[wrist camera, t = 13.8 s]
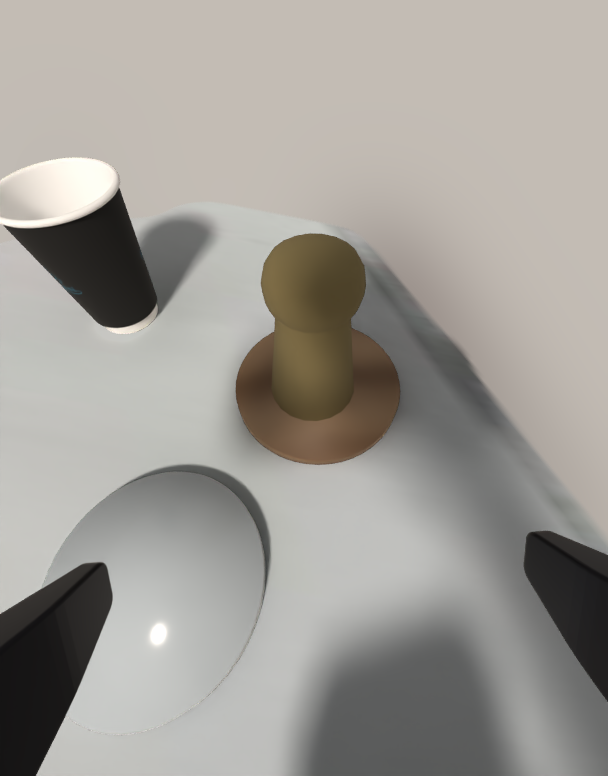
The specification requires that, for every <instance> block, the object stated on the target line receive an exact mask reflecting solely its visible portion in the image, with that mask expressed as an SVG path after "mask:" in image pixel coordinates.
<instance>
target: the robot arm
mask: <svg viewBox="0 0 608 776" xmlns="http://www.w3.org/2000/svg"><path fill="white" fill-rule="evenodd" d="M524 570H525V573H526V576H527V578H528V580H529V581H530V583H531V585H532V586H533V588H534V590H535V591H536V593H537V595H538V596H539V598H540V599H541V601H542V603H543V604H544V606H545V608H546V609H547V611H548V613H549V614H550V616H551V618H552V619H553V621H554V623H555V624H556V626H557V628H558V629H559V631H560V633H561V634H562V636H563V637H564V639H565V641H566V642H567V644H568V645H569V647H570V649H571V650H572V652H573V653H574V655H575V656H576V658H577V659H578V661H579V662H580V664H581V665H582V667H583V668H584V669H585V671H586V672H587V674H588V675H589V676H590V678H591V679H592V681H593V682H594V683H595V685H596V686H597V688H598V689H599V690H600V692H601V693H602V695H603V696H604V697H605V699H606V700H607V702H608V555H606V554H604V553H601V552H599V551H597V550H594V549H592V548H589V547H587V546H585V545H582V544H580V543H577V542H575V541H573V540H570V539H568V538H565V537H563V536H561V535H558V534H556V533H553V532H551V531H536V532H530V533H529V534H528V535H527V537H526V546H525V556H524ZM112 601H113V593H112V588H111V583H110V578H109V573H108V569H107V566H106V564H105V563H103V562H91V563H84V564H81V565H79V566H78V567H76V568H74V569H73V570H71V571H70V572H68V573H66V574H65V575H63V576H61V577H60V578H58V579H57V580H55V581H53V582H52V583H50V584H48V585H47V586H45V587H44V588H42V589H40V590H39V591H37V592H35V593H34V594H32V595H31V596H29V597H27V598H26V599H24V600H22V601H21V602H19V603H18V604H16V605H14V606H13V607H11V608H9V609H8V610H6V611H5V612H3V613H1V614H0V776H36V774H37V772H38V770H39V768H40V766H41V764H42V762H43V760H44V758H45V756H46V754H47V752H48V750H49V748H50V746H51V744H52V742H53V740H54V738H55V736H56V734H57V732H58V730H59V728H60V726H61V724H62V722H63V720H64V718H65V716H66V714H67V712H68V710H69V708H70V706H71V704H72V702H73V699H74V697H75V695H76V693H77V691H78V688H79V686H80V684H81V681H82V679H83V677H84V674H85V672H86V669H87V667H88V664H89V662H90V659H91V657H92V654H93V652H94V649H95V647H96V644H97V642H98V639H99V637H100V634H101V632H102V629H103V627H104V624H105V622H106V619H107V617H108V614H109V612H110V609H111V606H112Z"/></svg>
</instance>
